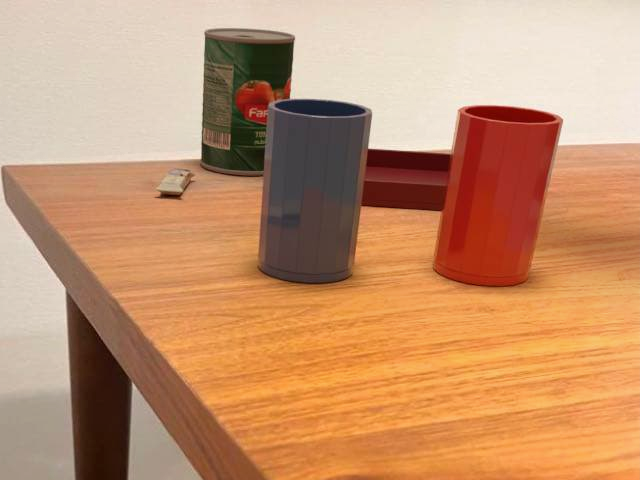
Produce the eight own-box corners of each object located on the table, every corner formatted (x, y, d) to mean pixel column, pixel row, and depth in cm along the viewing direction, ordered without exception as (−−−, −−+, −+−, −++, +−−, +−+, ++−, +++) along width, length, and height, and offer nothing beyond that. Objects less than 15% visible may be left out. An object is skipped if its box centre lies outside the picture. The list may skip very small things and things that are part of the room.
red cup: (518, 259, 69) (551, 108, 64) (535, 289, 64) (572, 126, 58) (428, 253, 69) (453, 102, 64) (438, 282, 64) (465, 120, 58)
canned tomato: (218, 153, 94) (224, 25, 88) (296, 163, 92) (307, 33, 86) (186, 169, 88) (190, 32, 82) (268, 180, 85) (278, 41, 79)
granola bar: (181, 187, 78) (146, 181, 78) (180, 202, 79) (145, 196, 79) (205, 168, 83) (172, 162, 84) (204, 182, 84) (171, 176, 85)
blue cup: (351, 256, 68) (369, 102, 62) (354, 286, 62) (374, 120, 57) (260, 250, 68) (270, 96, 63) (255, 279, 63) (266, 113, 57)
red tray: (494, 179, 90) (498, 156, 89) (518, 215, 79) (524, 190, 78) (335, 169, 91) (337, 146, 89) (338, 203, 80) (340, 178, 79)
